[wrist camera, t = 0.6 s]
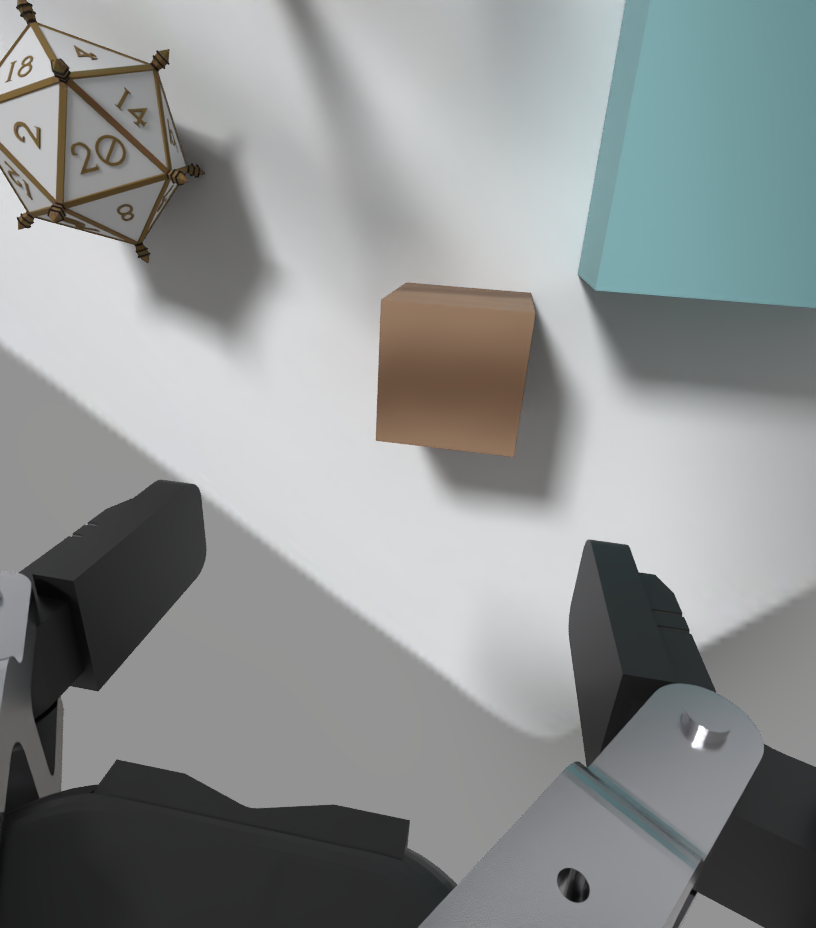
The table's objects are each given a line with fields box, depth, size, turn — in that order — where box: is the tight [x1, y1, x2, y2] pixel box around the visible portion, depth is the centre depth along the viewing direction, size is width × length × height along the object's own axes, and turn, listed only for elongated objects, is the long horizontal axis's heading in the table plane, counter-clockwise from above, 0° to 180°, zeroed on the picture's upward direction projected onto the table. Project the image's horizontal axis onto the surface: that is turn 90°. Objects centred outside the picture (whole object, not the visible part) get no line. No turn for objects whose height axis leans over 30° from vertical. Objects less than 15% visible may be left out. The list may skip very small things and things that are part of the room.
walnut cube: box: [376, 283, 535, 457], centre depth 26 cm, size 6×6×6 cm
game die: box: [0, 0, 205, 263], centre depth 23 cm, size 9×8×10 cm
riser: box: [578, 0, 816, 308], centre depth 20 cm, size 12×12×6 cm
